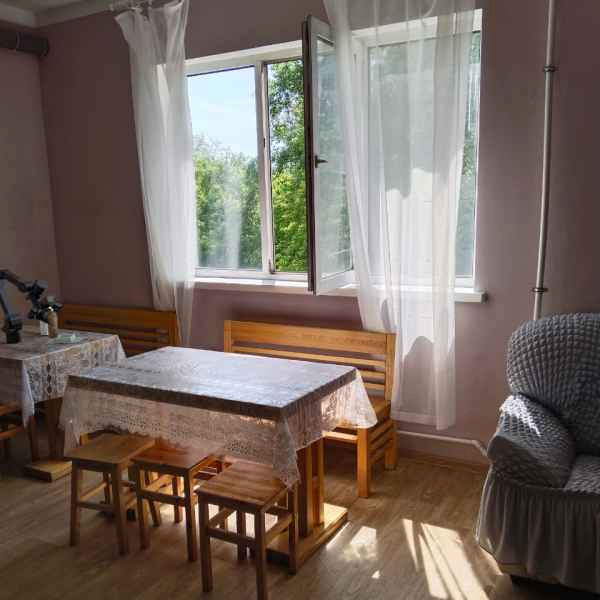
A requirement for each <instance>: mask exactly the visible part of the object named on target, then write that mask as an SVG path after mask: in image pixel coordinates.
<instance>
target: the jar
mask: <svg viewBox="0 0 600 600" xmlns="http://www.w3.org/2000/svg"><path fill="white" fill-rule="evenodd" d="M47 313H49V312H46V313H45V315H46V317H47V315H48V314H47ZM39 327H40V336H42V335H49V333H48V324H46V323H44V322H42V321H40V320H39Z"/></svg>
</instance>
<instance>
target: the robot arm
mask: <svg viewBox="0 0 600 600" xmlns="http://www.w3.org/2000/svg"><path fill="white" fill-rule="evenodd" d="M5 280H6V281H7V282H9V283H10V284H13V286H15V287H16V289H17V291H19V292H20V293H21V294H25V301H28V300H29V302H31V305H32V306H31V309H30V310H29V311H28V313H27V314H26V317H27V319H28V320H34V319H35V320H38V321H39V322H40V321H42V322H44V323H46V324H49V325H50V324H51V323H50V321H49V320H48V318H47V317H46V315H45V313H47V312H49V311H50V310H53V311H54V312H55V314H56V316H57V324H58V323H59V322H60V321H59V316H58V313H60V311H61V310H62V308H63V304H61V302H58V303H54V302H56V299H57V298H56V296H55V294H50V295H49V296H45V297H43V295H44V293H45V292H46V290H47V288H49V285H48V282H47V281H46V280H43V279H41V278H36V279H35V281H33V280H30V279H24V278H22V277H20V276H18V275H17V274H15V273H13V272H12V271H10V269H7V268H5V269H0V307H1V309H2V311H3V314H4V317H3V322H4V325H3V326H2V327H1V331H2V333H5V340H6V341H5V343H8V344H18V343H20V342H22V335H21V334H22V333H20V331H22V330H23V324H24V322H23V318H22V316H21V313H20V312H16V311H15V309H14V308H13V305H12V303H11V300H10V299H9V296H8V293H7V291H6V289H5V284H6V281H5ZM27 293H28V294H27ZM51 305H52V306H51Z"/></svg>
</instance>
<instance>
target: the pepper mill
mask: <svg viewBox="0 0 600 600" xmlns="http://www.w3.org/2000/svg"><path fill="white" fill-rule="evenodd" d="M46 313H47V312H46ZM47 314H48V315H47V318H48V320H49V321H50V323H51V324H50V325H49V324H48V333H49V336H48V339H53V338H58V335H59V329H58V328H59V327H58V323H57V317H58V315H57V316H56V314H55V312H54V311H53V310H50V311H49V313H47Z"/></svg>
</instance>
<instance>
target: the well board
mask: <svg viewBox="0 0 600 600" xmlns="http://www.w3.org/2000/svg"><path fill="white" fill-rule="evenodd" d="M82 339H83V340H85V339H86V336H76V334H75V333H71V334H69V333H67V334H66V333H65V334H63V333H62V334H58V338H53V339H51V338H49V340H48V341H46V342H44V345H57V344H56V343H70V344H79V343H78V342H80V341H81V340H82ZM83 340H82V341H83ZM82 341H81V342H82ZM81 342H80V343H81Z"/></svg>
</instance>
